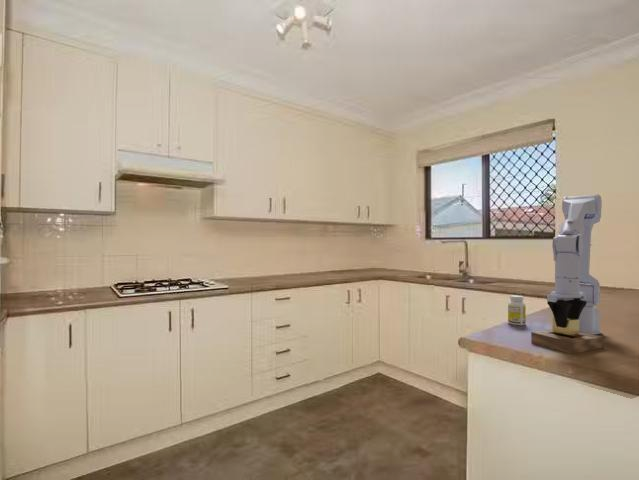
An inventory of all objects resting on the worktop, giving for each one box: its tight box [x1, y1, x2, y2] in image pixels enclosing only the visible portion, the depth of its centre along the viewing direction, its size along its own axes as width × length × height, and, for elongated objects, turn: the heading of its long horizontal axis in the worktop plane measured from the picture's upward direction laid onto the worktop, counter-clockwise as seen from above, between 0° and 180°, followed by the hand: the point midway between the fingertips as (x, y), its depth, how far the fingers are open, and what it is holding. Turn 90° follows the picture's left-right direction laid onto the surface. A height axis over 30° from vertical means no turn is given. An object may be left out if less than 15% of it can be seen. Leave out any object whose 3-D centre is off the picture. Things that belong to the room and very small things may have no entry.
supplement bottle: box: [507, 294, 527, 326], centre depth 125 cm, size 5×5×10 cm
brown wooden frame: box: [530, 328, 604, 355], centre depth 100 cm, size 14×11×3 cm
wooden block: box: [552, 316, 579, 335], centre depth 100 cm, size 4×4×4 cm
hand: (566, 326), depth 100 cm, fingers closed on wooden block, 4 cm apart
